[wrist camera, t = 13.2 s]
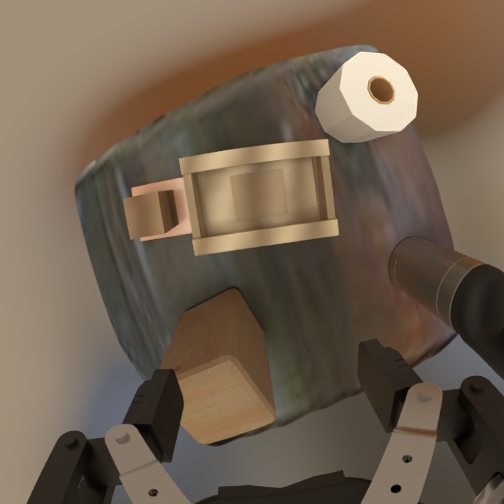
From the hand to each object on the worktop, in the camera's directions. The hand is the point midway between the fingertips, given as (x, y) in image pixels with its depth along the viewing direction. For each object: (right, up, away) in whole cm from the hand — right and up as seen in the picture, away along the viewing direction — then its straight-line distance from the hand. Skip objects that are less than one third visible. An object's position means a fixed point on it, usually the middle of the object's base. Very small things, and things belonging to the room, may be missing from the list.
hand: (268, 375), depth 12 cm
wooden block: (-5, -6, +34) cm, 35 cm away
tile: (-14, +11, +30) cm, 35 cm away
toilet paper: (+14, +26, +27) cm, 40 cm away
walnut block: (-14, +11, +29) cm, 34 cm away
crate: (0, +13, +30) cm, 33 cm away
